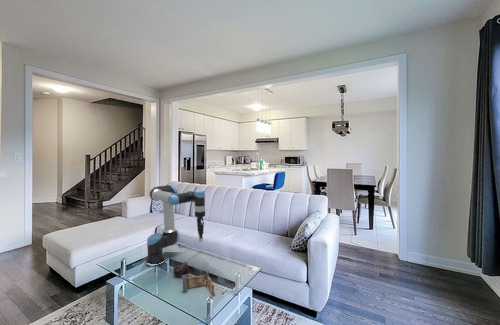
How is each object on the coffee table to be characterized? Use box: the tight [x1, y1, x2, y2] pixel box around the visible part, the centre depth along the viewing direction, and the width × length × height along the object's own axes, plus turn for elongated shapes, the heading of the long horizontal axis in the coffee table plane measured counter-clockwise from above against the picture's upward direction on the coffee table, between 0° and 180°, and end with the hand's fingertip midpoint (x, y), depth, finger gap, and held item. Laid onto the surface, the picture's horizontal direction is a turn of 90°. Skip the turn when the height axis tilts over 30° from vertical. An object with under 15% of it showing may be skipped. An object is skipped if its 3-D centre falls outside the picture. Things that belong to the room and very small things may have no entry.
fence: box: [206, 275, 215, 297], centre depth 152 cm, size 12×1×7 cm, turn 26°
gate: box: [187, 274, 206, 290], centre depth 157 cm, size 12×1×7 cm, turn 106°
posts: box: [181, 269, 210, 294], centre depth 156 cm, size 3×18×11 cm, turn 116°
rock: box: [173, 261, 190, 278], centre depth 172 cm, size 12×9×10 cm
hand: (200, 242), depth 169 cm, fingers closed
